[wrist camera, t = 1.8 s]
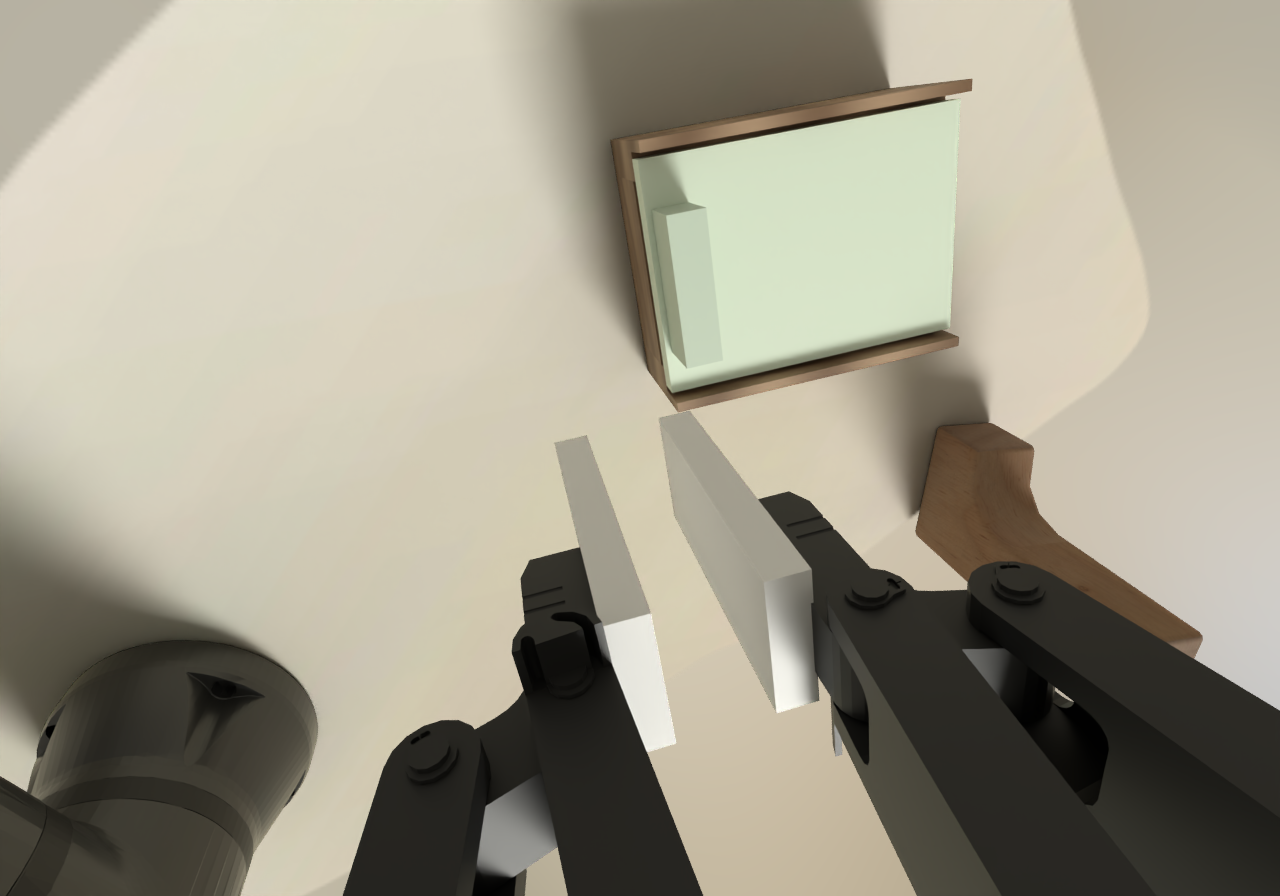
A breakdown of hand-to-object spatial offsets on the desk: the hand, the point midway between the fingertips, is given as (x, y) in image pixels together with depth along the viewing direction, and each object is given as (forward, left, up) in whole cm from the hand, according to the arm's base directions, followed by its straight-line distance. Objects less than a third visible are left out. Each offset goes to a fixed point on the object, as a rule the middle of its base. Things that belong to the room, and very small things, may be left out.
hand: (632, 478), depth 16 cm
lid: (+13, 0, -19) cm, 23 cm away
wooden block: (+26, -20, -25) cm, 41 cm away
